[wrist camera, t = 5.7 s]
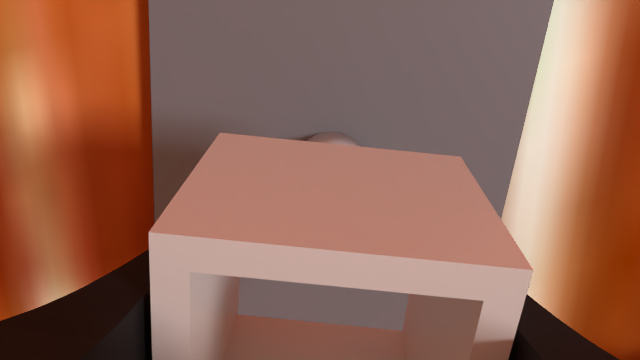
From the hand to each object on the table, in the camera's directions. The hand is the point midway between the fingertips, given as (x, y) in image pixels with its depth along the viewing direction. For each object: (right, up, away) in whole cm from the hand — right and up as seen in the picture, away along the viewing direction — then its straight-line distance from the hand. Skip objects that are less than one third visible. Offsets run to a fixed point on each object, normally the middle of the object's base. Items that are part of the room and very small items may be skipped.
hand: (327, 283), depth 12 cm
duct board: (0, +3, +8) cm, 8 cm away
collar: (0, +1, +1) cm, 1 cm away
